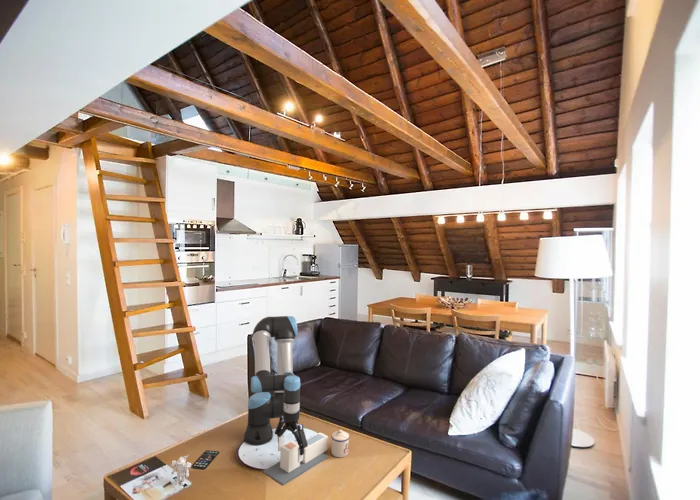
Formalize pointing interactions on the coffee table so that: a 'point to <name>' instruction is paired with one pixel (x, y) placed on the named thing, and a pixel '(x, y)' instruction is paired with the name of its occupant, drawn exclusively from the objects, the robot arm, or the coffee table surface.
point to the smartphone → (205, 460)
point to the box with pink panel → (289, 456)
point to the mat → (286, 477)
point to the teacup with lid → (340, 444)
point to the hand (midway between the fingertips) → (290, 455)
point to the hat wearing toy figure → (181, 469)
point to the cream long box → (315, 447)
